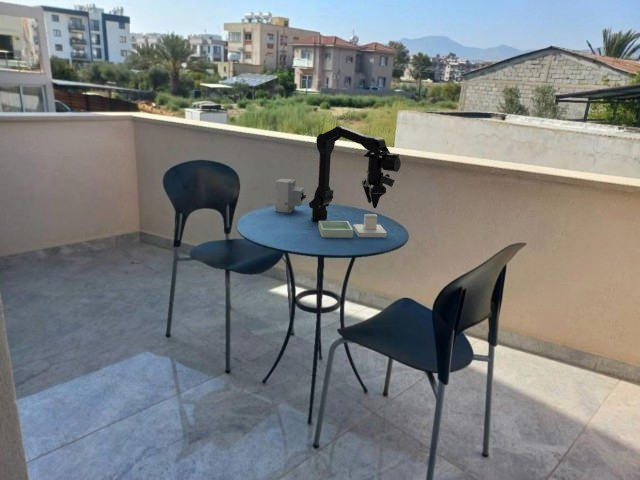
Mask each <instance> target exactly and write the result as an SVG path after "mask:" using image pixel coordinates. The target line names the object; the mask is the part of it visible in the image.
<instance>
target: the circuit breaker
mask: <svg viewBox="0 0 640 480" xmlns="http://www.w3.org/2000/svg"><path fill="white" fill-rule="evenodd" d="M296 183H297V182H296V179H289V178H279V179H277V180H275V185H274V187H275V188H274V190H275V191H276V201H275V202H274V212H280V213H287V214H288V213H292V212H293V211H294V210H295V209H296V207H301V206H302V205H303V204H304V203H305V202H304V199H306V198H307V195H306V194H305V187H300V186H299V187H298V186H296Z"/></svg>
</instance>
